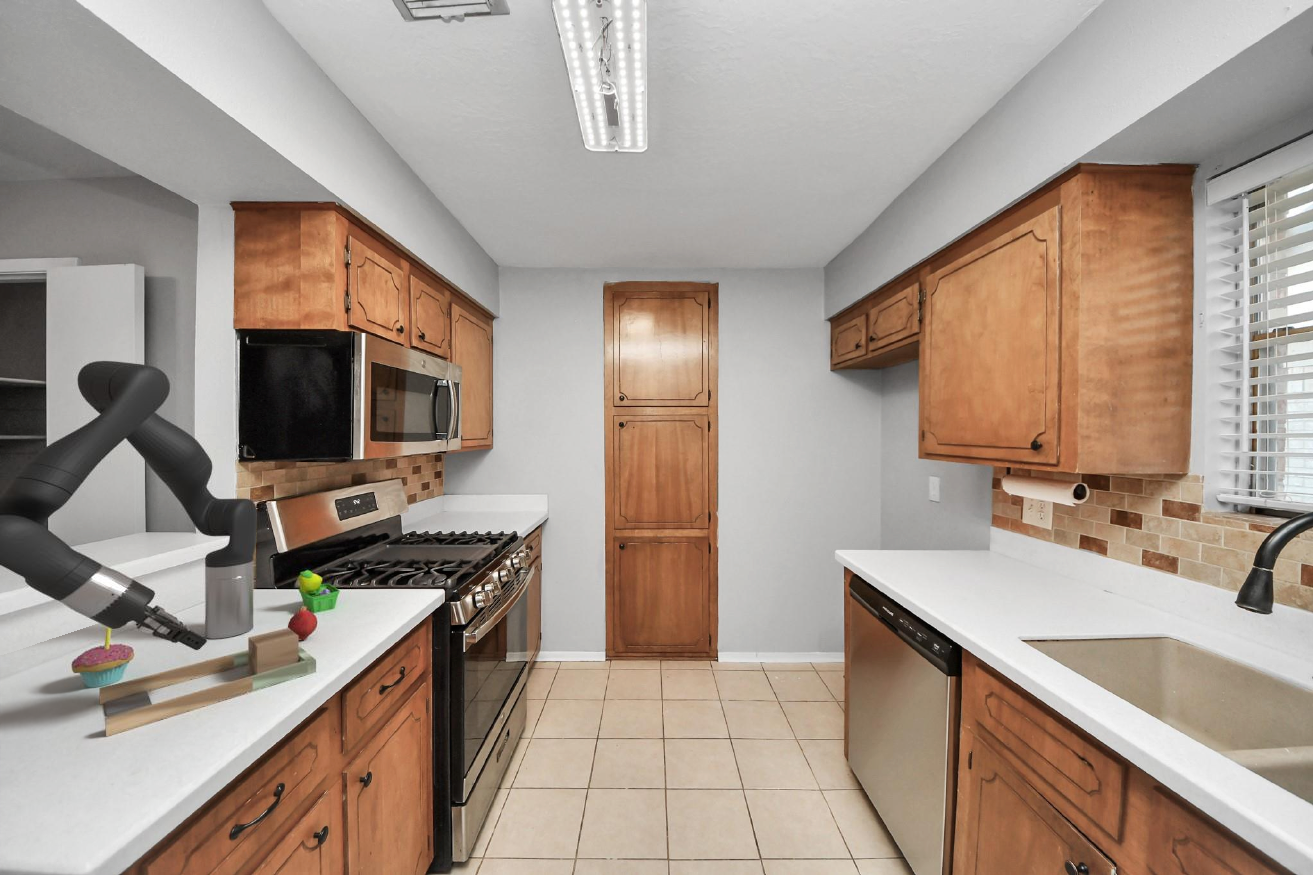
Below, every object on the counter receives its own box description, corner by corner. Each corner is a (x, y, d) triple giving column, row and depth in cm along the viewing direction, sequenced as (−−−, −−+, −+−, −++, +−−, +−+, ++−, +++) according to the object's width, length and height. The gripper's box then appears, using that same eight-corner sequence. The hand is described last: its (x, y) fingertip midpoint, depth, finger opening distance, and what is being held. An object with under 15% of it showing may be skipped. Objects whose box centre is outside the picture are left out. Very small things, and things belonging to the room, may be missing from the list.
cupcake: (144, 675, 103) (144, 616, 103) (86, 695, 95) (86, 632, 95) (118, 669, 106) (118, 612, 106) (60, 688, 98) (60, 626, 98)
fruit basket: (341, 608, 144) (341, 568, 144) (304, 616, 137) (304, 575, 137) (328, 600, 152) (328, 562, 152) (292, 607, 145) (292, 568, 145)
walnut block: (248, 671, 106) (248, 637, 106) (288, 659, 111) (288, 627, 111) (257, 681, 101) (257, 646, 101) (298, 668, 107) (298, 635, 107)
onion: (302, 646, 118) (302, 611, 118) (281, 644, 119) (281, 610, 119) (323, 636, 124) (323, 603, 124) (303, 634, 125) (303, 602, 125)
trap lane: (99, 701, 93) (99, 688, 93) (291, 649, 116) (291, 639, 116) (106, 736, 82) (106, 721, 82) (316, 671, 105) (316, 659, 105)
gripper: (134, 585, 86) (228, 635, 96) (126, 571, 94) (212, 619, 104) (88, 625, 82) (190, 673, 91) (83, 607, 90) (177, 653, 100)
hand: (202, 644), depth 98 cm, fingers closed
